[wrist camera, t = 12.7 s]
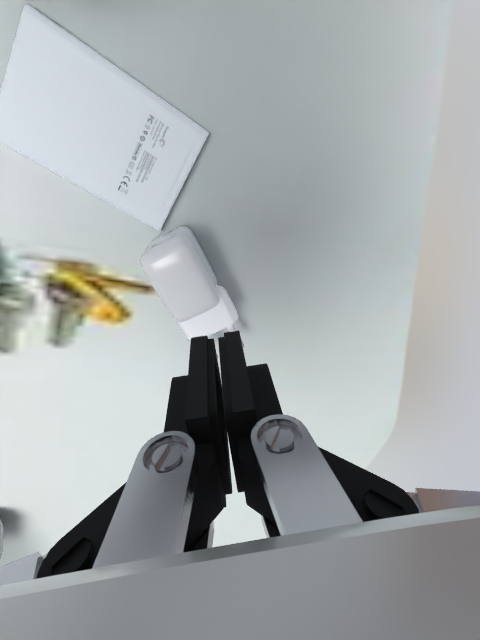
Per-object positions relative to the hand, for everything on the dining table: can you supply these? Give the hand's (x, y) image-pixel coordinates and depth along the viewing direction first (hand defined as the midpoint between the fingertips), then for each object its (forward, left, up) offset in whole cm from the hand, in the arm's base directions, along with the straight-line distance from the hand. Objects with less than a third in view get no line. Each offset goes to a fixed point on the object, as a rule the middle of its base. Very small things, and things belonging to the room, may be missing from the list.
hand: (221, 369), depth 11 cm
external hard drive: (-8, -7, -19) cm, 22 cm away
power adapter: (+4, -1, -18) cm, 19 cm away
